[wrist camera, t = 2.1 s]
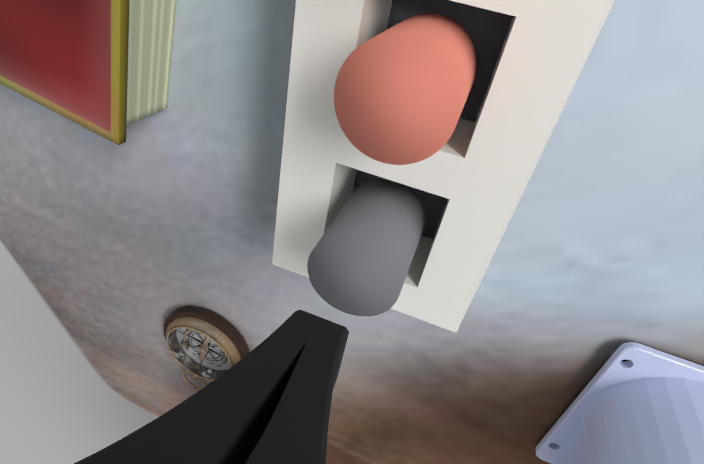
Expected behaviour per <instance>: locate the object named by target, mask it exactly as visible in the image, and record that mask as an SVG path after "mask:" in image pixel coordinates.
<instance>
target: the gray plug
mask: <svg viewBox="0 0 704 464" xmlns="http://www.w3.org/2000/svg"><path fill="white" fill-rule="evenodd" d="M425 219H426V218H425V211H424V207H423V205H422V203H421V201H420V199H419V198H418V196H417V195H416V194H415V193H414V192H413V191H412V190H411V189H410V188H408V187H407V186H405V185H403V184H401V183H398V182H394V181H391V180H388V179H374V180H370V181H367V182H365V183H363V184H362V185H360V186H359V187H358V188H357V189H356V190H355V191H354V192H353V194H352V195H351V197H350V198H349V199H348V201H347V202H346V204H345V205H344V206H343V208H342V209H341V211H340V212H339V213H338V215H337V216H336V218H335V219H334V220H333V222H332V223H331V225H330V226H329V228H328V229H327V230H326V232H325V233H324V235H323V236H322V237H321V239H320V240H319V242H318V243H317V244H316V246H315V247H314V249H313V250H312V252H311V253H310V256H309V258H308V264H307V270H308V275H309V279H310V281H311V283H312V285H313V287H314V289H315V290H316V292H317V293H318V294H319V295H320V296H321V297H322V298H323V299H324V300H325V301H326V302H327V303H329V304H330V305H332V306H333V307H335V308H337V309H338V310H341V311H343V312H345V313H348V314H352V315H357V316H374V315H378V314H381V313H383V312H385V311H387V310H389V309H390V308H391V307H392V306H393V305H394V304H395V303H396V301H397V300H398V297H399V295H400V292H401V290H402V287H403V284H404V281H405V279H406V276H407V273H408V270H409V268H410V265H411V262H412V259H413V257H414V254H415V251H416V248H417V246H418V243H419V240H420V237H421V235H422V232H423V229H424V226H425Z"/></svg>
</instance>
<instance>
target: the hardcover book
mask: <svg viewBox="0 0 704 464" xmlns="http://www.w3.org/2000/svg"><path fill="white" fill-rule="evenodd" d="M175 11H176V0H0V84H2V85H4V86H6V87H8V88H10V89H12V90H14V91H16V92H17V93H19V94H21V95H23V96H25V97H27V98H29V99H31V100H33V101H35V102H37V103H39V104H41V105H43V106H44V107H46V108H48V109H50V110H52V111H54V112H56V113H58V114H60V115H62V116H64V117H66V118H68V119H70V120H71V121H73V122H75V123H77V124H79V125H81V126H83V127H85V128H87V129H89V130H91V131H93V132H95V133H97V134H98V135H100V136H102V137H104V138H106V139H108V140H110V141H112V142H114V143H116V144H118V145H120V144H122V143H124V142H126V126H127V125H129V124H131V123H134V122H136V121H138V120H140V119H143V118H145V117H147V116H150V115H152V114H154V113H156V112H159V111H161V110H163V109H165V108H167V102H168V90H169V79H170V68H171V56H172V45H173V33H174V22H175Z"/></svg>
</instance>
